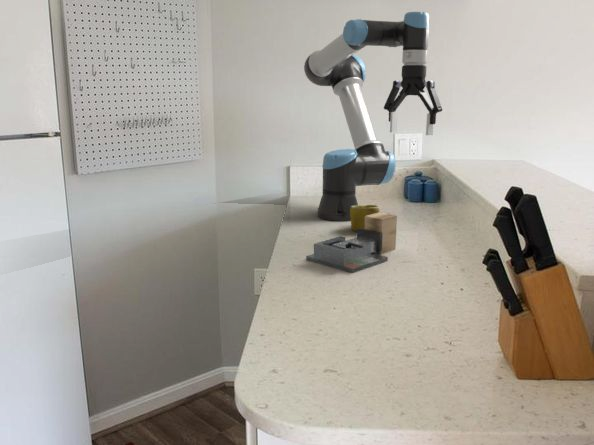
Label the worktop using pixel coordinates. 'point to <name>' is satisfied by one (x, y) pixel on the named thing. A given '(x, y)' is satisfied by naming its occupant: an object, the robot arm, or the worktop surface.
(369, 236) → the grey blocky piece
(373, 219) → the block
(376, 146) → the robot arm
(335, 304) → the worktop surface
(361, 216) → the mug
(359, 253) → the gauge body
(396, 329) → the worktop surface
